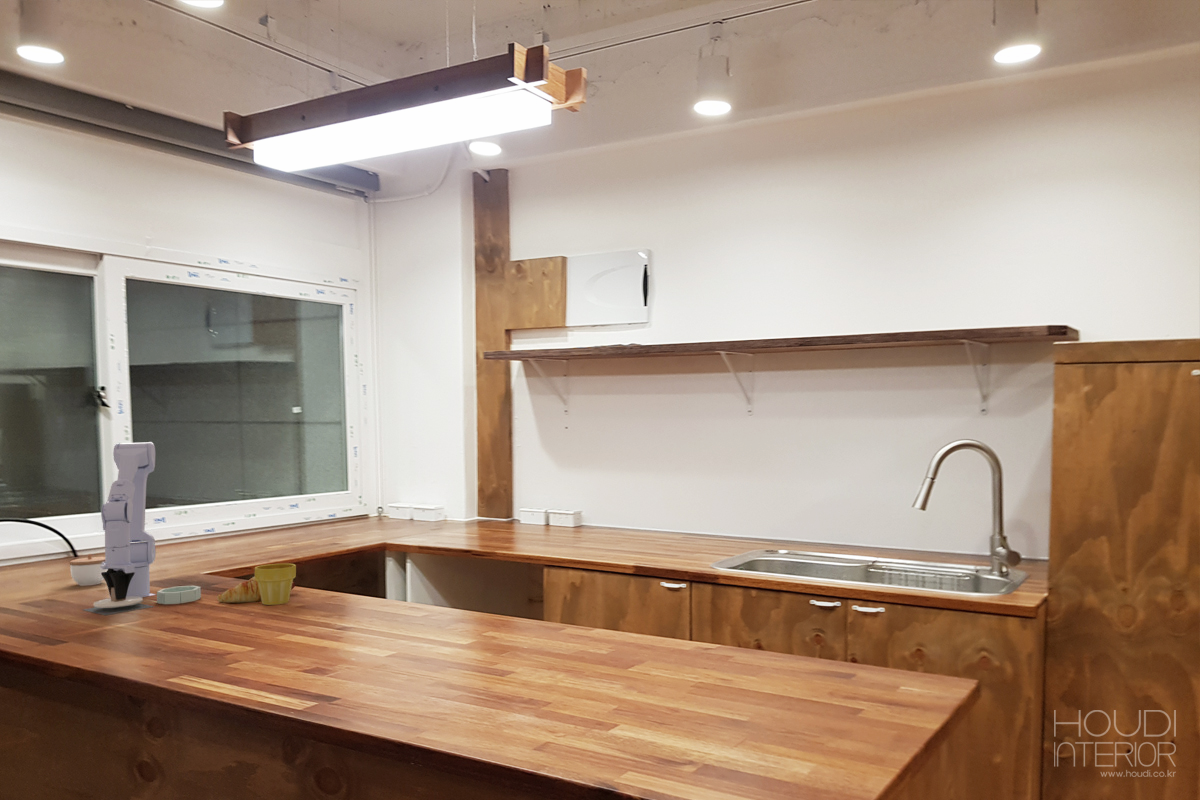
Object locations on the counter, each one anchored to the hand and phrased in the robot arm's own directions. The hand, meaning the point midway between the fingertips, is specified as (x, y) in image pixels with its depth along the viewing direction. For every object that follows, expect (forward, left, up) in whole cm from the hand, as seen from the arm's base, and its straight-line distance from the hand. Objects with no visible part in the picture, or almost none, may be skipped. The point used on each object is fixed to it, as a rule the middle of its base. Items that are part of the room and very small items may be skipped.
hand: (118, 598), depth 223 cm
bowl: (+4, +14, -3) cm, 15 cm away
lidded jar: (-55, +15, -3) cm, 57 cm away
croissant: (+19, +28, -4) cm, 34 cm away
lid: (0, 0, -1) cm, 1 cm away
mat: (0, 0, -3) cm, 3 cm away
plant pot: (+30, +27, -3) cm, 41 cm away
